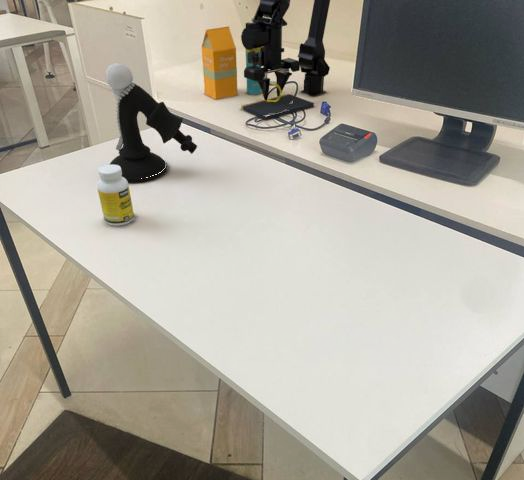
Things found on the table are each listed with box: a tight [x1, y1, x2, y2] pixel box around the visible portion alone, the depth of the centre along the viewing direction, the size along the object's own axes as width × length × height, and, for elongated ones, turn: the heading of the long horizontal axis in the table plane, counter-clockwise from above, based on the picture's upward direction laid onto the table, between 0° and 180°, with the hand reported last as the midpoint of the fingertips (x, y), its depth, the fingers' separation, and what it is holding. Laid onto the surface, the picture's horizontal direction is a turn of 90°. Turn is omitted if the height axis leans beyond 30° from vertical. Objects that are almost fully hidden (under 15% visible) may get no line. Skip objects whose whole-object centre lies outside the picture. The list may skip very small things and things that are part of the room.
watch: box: [266, 80, 282, 103], centre depth 171 cm, size 6×3×6 cm, turn 90°
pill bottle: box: [96, 163, 135, 226], centre depth 113 cm, size 6×6×12 cm
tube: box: [244, 47, 262, 96], centre depth 178 cm, size 7×5×19 cm, turn 134°
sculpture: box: [105, 62, 198, 184], centre depth 128 cm, size 15×24×25 cm, turn 86°
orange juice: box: [201, 26, 239, 100], centre depth 177 cm, size 8×9×20 cm
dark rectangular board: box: [240, 93, 315, 121], centre depth 172 cm, size 20×13×1 cm, turn 128°
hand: (272, 98), depth 173 cm, fingers closed on watch, 5 cm apart
